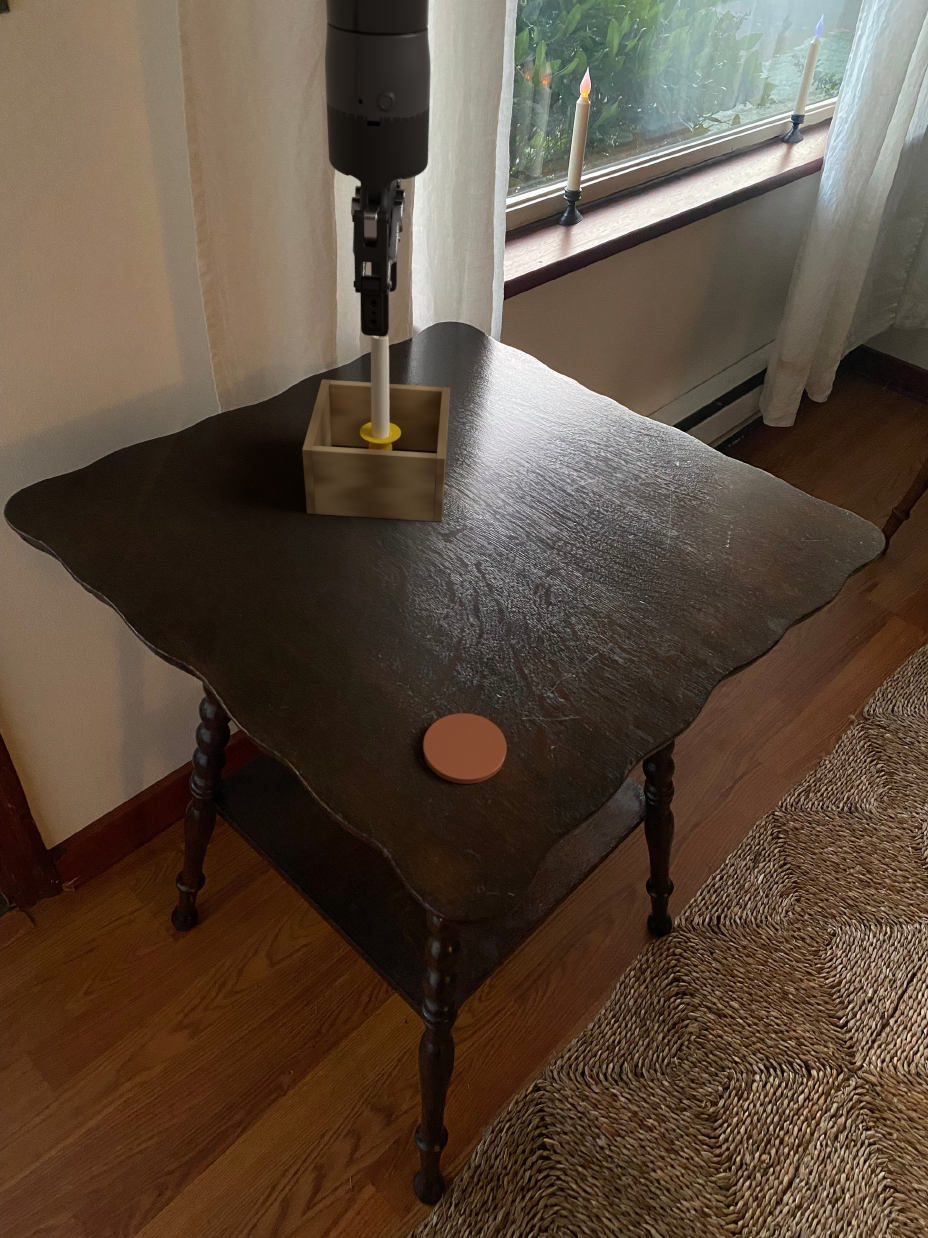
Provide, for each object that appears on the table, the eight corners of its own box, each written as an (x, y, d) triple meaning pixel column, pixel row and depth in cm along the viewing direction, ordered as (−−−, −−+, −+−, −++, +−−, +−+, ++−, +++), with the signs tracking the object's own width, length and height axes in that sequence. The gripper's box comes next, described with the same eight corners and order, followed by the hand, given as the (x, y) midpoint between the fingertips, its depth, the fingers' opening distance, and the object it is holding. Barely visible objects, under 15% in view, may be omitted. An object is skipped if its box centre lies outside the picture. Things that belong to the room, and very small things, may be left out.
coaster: (420, 782, 62) (420, 776, 62) (425, 715, 67) (425, 710, 66) (506, 786, 62) (507, 781, 62) (505, 720, 67) (506, 715, 66)
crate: (306, 513, 83) (302, 449, 79) (325, 440, 93) (321, 378, 88) (441, 522, 84) (445, 458, 79) (446, 448, 93) (450, 387, 88)
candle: (352, 465, 90) (347, 316, 79) (403, 463, 90) (406, 315, 80) (356, 496, 86) (351, 344, 75) (410, 493, 87) (413, 342, 76)
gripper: (338, 69, 70) (345, 274, 81) (312, 121, 60) (324, 347, 71) (434, 76, 70) (428, 279, 82) (424, 129, 60) (418, 353, 71)
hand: (379, 311), depth 76 cm, fingers open, 8 cm apart
